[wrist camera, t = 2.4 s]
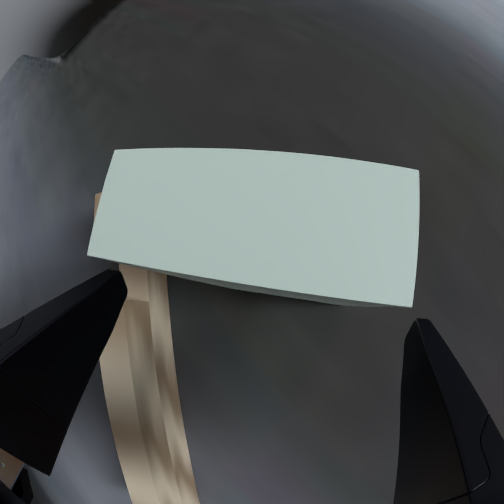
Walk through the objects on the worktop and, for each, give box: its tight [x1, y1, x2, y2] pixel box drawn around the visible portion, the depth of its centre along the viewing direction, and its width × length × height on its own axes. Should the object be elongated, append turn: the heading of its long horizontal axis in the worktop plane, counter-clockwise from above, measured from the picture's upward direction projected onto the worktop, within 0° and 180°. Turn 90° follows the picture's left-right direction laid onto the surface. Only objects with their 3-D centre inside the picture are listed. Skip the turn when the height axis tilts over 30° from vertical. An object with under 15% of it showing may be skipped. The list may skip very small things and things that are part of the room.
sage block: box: [87, 148, 419, 307], centre depth 11 cm, size 2×6×12 cm, turn 80°
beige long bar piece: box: [94, 192, 200, 504], centre depth 16 cm, size 22×2×5 cm, turn 6°
